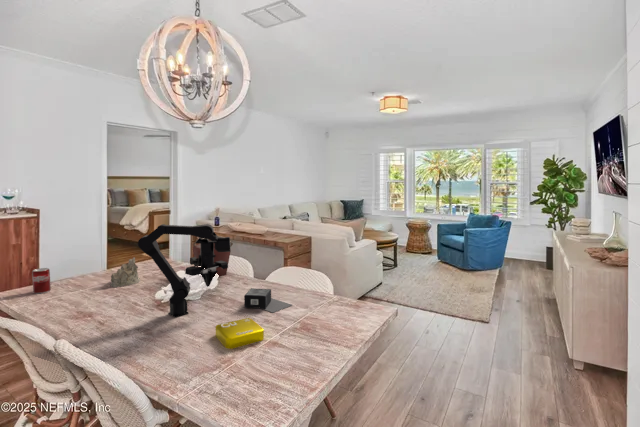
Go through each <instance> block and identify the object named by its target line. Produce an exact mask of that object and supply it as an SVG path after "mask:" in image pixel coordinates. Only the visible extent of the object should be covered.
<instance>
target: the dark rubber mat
mask: <svg viewBox="0 0 640 427" xmlns="http://www.w3.org/2000/svg"><path fill="white" fill-rule="evenodd" d="M289 306H290V307H292V306H293V304H291V303H288V302H285V301H282V300H279V299H276V298H274V297H273V298H272V297H271V302H270V303H269V304H268V306H267V307H266V308H259V309H261V310H263V311H266V312H269V313H272V314H274V313H276V311H277V312H280V311H281V309H282V310H284V309H286V308H289Z"/></svg>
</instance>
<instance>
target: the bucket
mask: <svg viewBox="0 0 640 427" xmlns="http://www.w3.org/2000/svg"><path fill="white" fill-rule="evenodd" d="M217 236H218V238H221V237H223V236H221V235H217ZM202 239H204V238H202ZM197 240H198V239H196V240H195V241H194V242H193V244H192V252H193V257H195V258H199V255H200V243H196V241H197ZM230 243H231V247H232V246H233V245H234V243H233V242H232V241H231V240H230ZM231 251H232V250H231ZM231 251H230V252H218V251H216V250H215V243H214V255H216V257H214V263H215V262H216V261H225V262H227V263H228V264H229V262H230V258H231V257H230V256H231ZM196 267H198V266H196ZM216 270H217V271H218V272H216V273H217V274H218V275H219V277H218V278H220V277H223V276H227V273H228V268H226V269H222V268H221V267H218V268H216Z"/></svg>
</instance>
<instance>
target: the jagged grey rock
mask: <svg viewBox="0 0 640 427" xmlns="http://www.w3.org/2000/svg"><path fill="white" fill-rule="evenodd" d="M138 268H139V266H138V265H137V264H136V257H132V258H130V259H128V262H127V263H123V264H121V267H120V268H118V269H117V271H116V272H113V273H111V275H110V282H111V283H110V284H109V285H110V287H112V288H121V287H126V286H133V285H136V284H138V283H140V282H141V279H140V278H139V273H138Z"/></svg>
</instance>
